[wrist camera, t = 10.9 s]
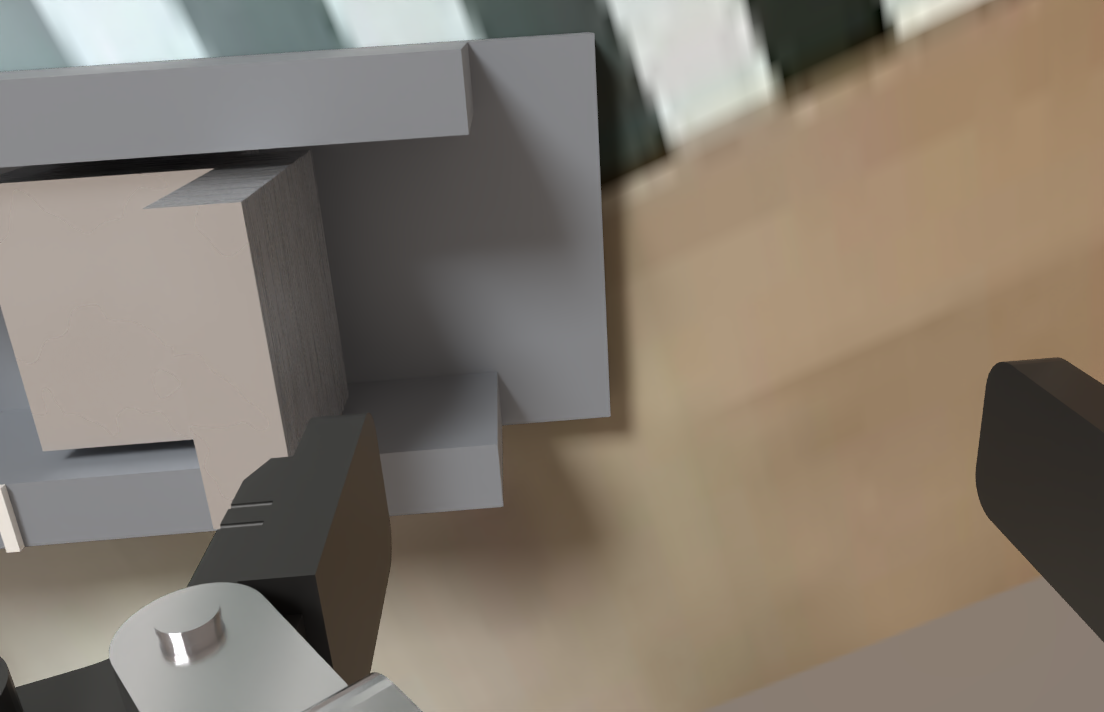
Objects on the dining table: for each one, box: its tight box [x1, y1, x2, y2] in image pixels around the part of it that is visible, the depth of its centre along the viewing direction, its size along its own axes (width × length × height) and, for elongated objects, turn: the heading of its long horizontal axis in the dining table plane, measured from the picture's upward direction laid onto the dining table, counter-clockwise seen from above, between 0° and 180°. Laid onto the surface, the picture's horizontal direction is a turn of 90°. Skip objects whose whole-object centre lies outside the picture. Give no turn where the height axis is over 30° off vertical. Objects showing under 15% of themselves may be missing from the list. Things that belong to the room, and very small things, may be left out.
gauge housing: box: [0, 32, 611, 553], centre depth 20 cm, size 10×26×9 cm, turn 94°
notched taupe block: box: [0, 149, 349, 529], centre depth 19 cm, size 6×7×8 cm
